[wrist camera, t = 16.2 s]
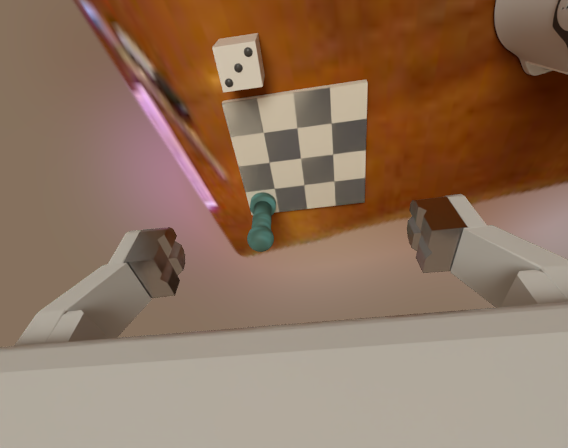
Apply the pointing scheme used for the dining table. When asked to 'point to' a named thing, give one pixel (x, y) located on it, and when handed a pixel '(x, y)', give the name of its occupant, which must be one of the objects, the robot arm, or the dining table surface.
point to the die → (239, 62)
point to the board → (302, 144)
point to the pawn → (261, 221)
